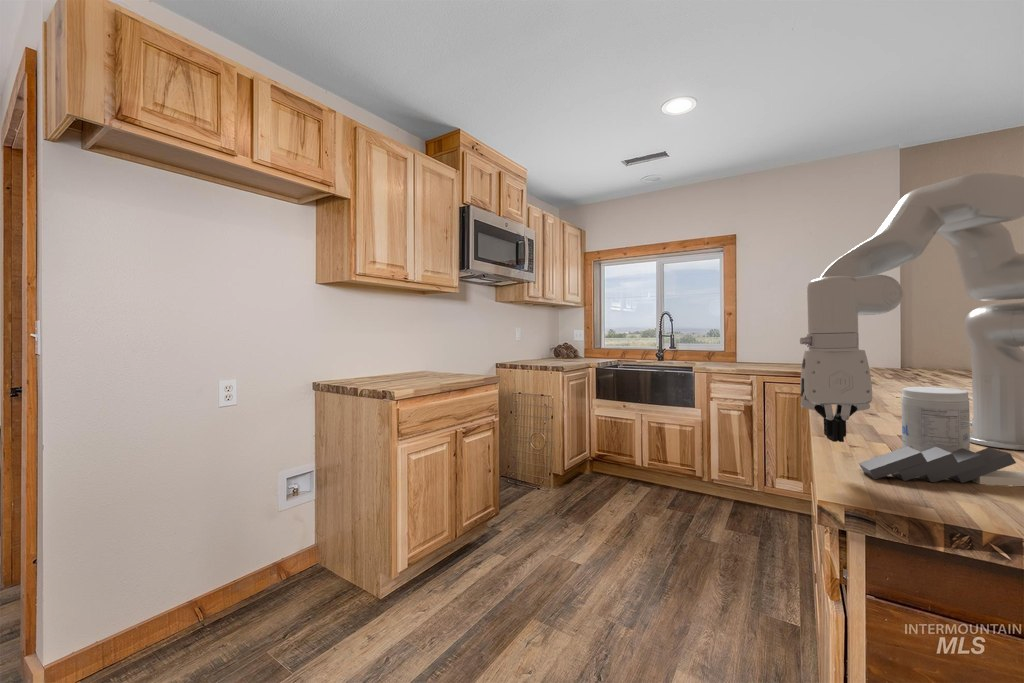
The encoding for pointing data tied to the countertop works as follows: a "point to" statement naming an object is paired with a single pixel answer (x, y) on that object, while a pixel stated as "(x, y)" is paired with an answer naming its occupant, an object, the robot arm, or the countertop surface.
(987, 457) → the domino
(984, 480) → the domino
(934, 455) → the domino
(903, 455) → the domino
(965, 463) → the domino
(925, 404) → the supplement tub
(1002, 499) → the countertop surface
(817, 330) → the robot arm
